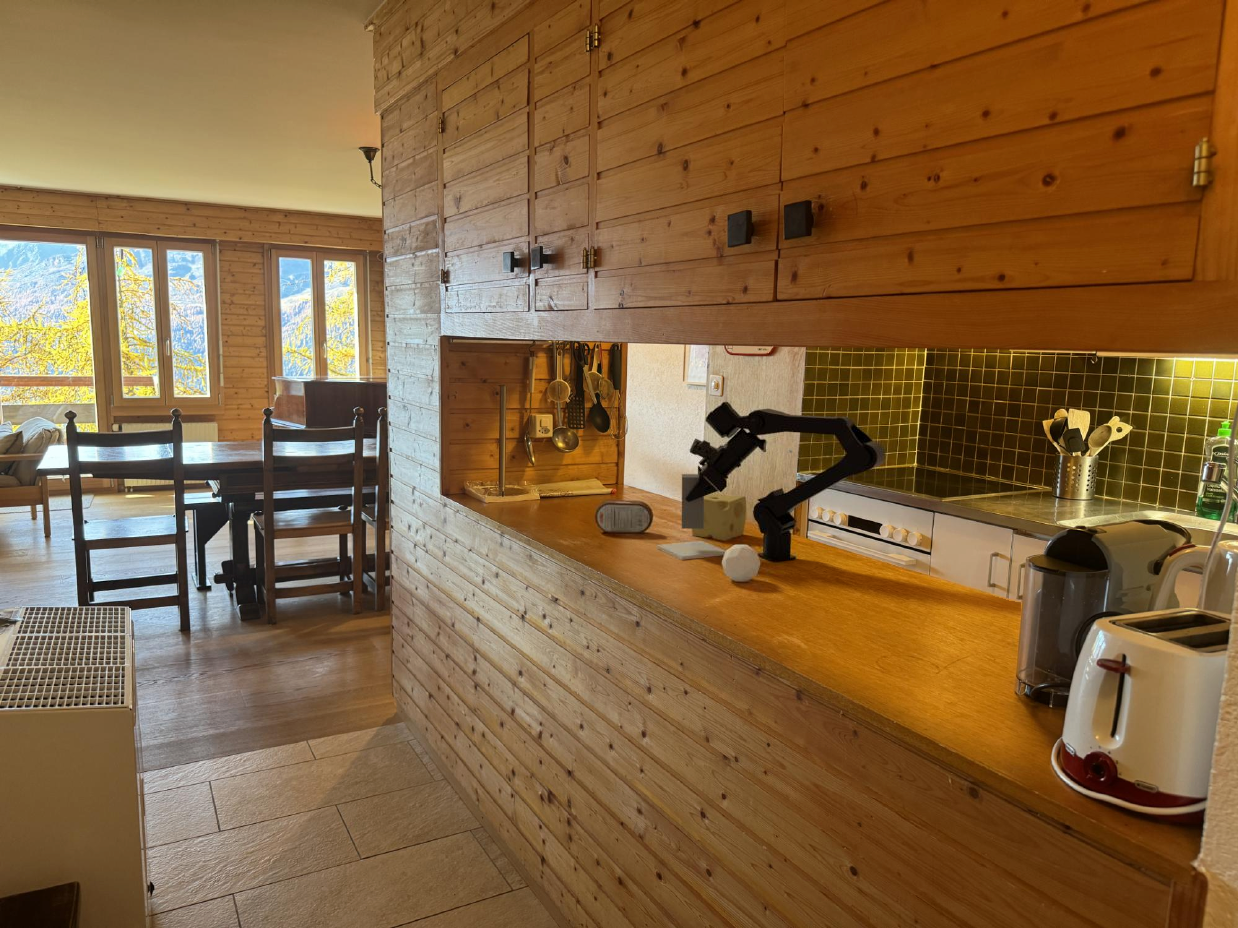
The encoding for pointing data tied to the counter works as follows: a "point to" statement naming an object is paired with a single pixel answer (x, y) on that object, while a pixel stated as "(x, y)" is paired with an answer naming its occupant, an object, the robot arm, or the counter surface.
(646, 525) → the tin
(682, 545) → the tile
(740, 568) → the ball
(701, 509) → the block
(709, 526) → the cheese
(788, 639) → the counter surface
